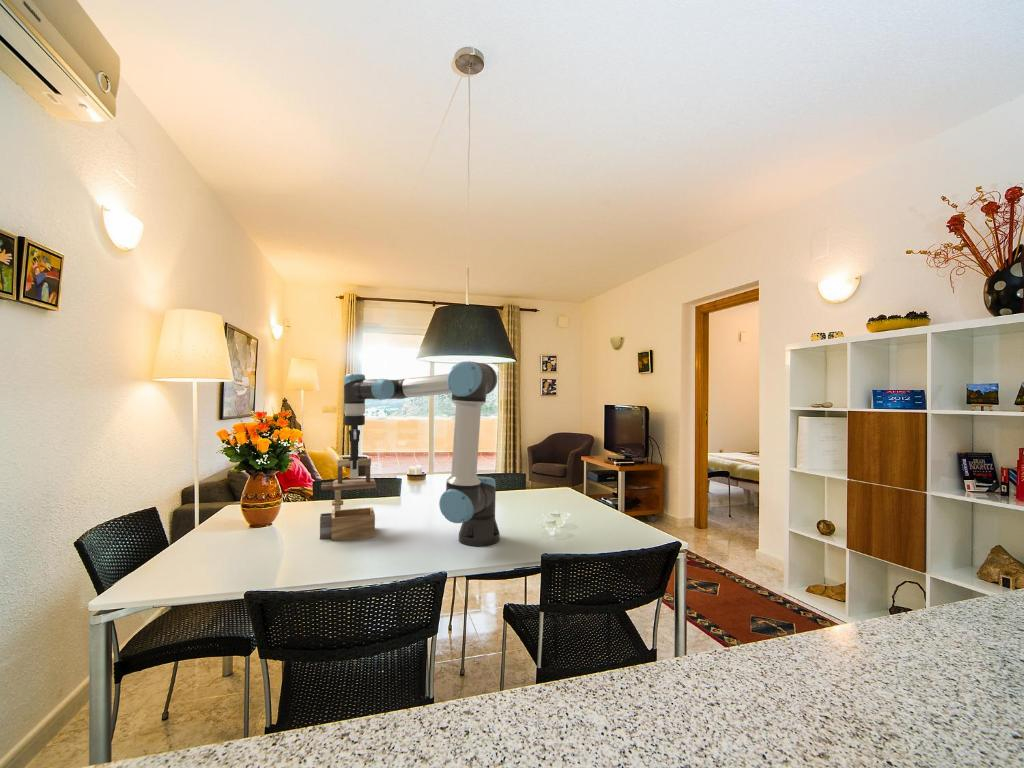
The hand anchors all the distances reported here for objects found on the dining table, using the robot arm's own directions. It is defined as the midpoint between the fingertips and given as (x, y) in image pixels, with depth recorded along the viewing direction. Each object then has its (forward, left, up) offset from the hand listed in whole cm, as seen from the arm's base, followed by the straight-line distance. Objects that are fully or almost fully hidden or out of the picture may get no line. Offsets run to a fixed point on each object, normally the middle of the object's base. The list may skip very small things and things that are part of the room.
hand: (354, 476), depth 177 cm
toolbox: (0, +2, -21) cm, 22 cm away
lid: (0, +2, -3) cm, 4 cm away
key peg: (+23, +6, -22) cm, 32 cm away
